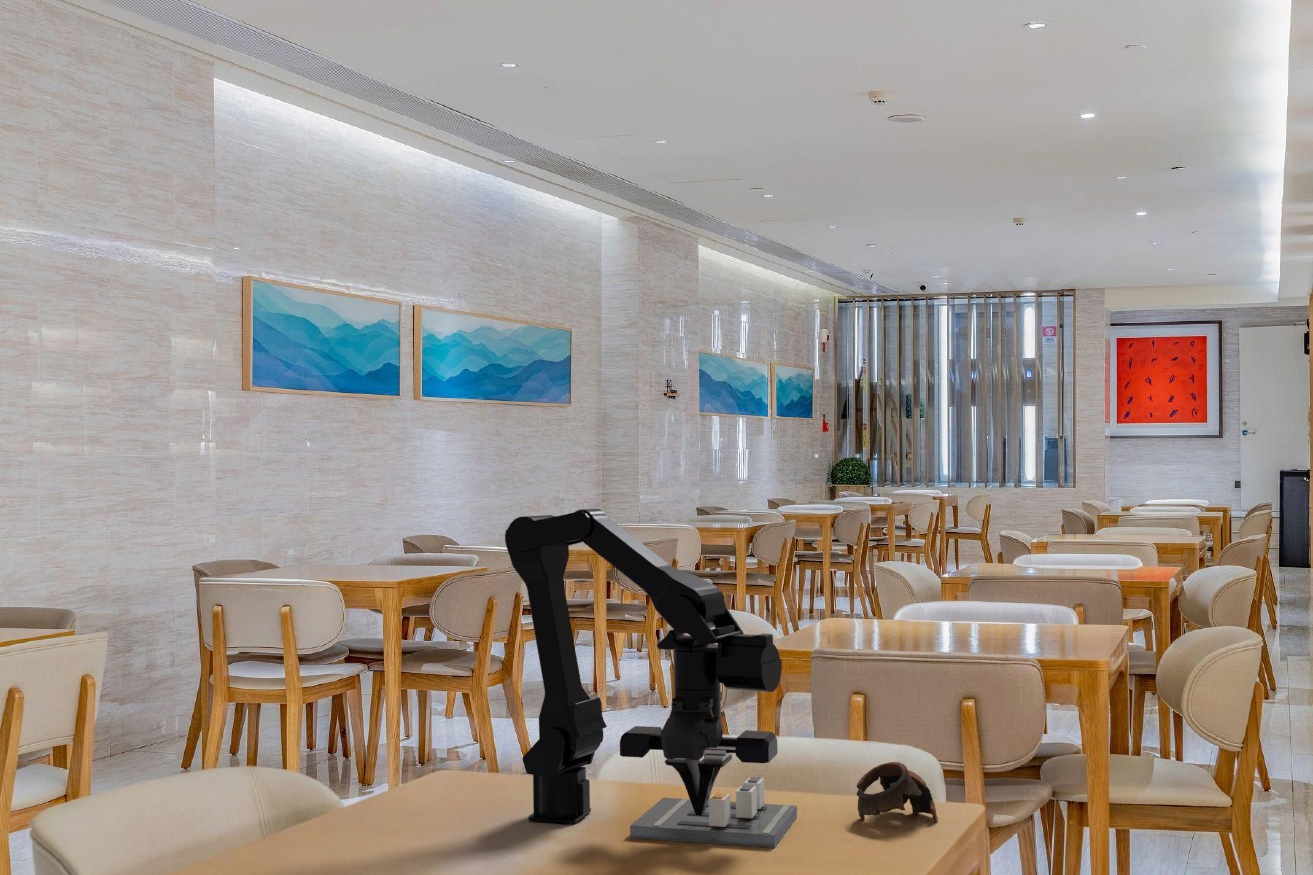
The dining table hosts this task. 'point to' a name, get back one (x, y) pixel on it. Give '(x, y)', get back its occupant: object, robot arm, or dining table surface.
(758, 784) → the block
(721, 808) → the block
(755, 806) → the breaker
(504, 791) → the dining table surface
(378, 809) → the dining table surface
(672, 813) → the panel
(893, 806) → the brown curved band frame
